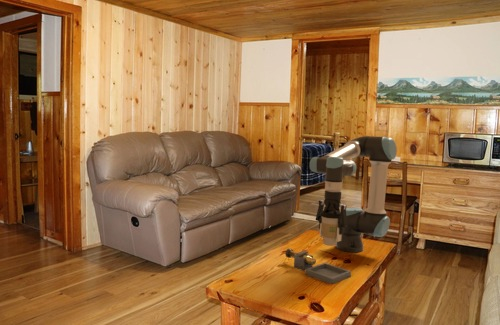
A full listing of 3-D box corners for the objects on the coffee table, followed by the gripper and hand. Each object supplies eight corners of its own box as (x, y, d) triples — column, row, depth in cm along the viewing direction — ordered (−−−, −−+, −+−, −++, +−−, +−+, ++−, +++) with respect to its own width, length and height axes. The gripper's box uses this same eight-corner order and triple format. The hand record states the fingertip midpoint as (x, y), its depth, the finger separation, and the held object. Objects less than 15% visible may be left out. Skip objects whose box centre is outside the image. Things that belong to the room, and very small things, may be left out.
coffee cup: (340, 247, 183) (343, 215, 182) (318, 245, 185) (320, 213, 184) (340, 241, 193) (342, 210, 191) (319, 239, 195) (321, 208, 193)
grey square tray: (324, 267, 201) (324, 262, 201) (350, 276, 191) (351, 271, 190) (305, 274, 191) (305, 269, 191) (332, 284, 180) (332, 279, 180)
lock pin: (290, 256, 208) (291, 247, 208) (316, 265, 197) (317, 256, 196) (285, 258, 205) (285, 249, 205) (310, 267, 194) (311, 258, 193)
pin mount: (302, 264, 205) (303, 250, 204) (312, 267, 200) (313, 253, 200) (293, 267, 200) (294, 252, 199) (303, 270, 195) (304, 256, 195)
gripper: (309, 187, 192) (306, 234, 194) (348, 194, 176) (345, 245, 179) (319, 186, 197) (316, 232, 199) (358, 193, 182) (354, 242, 184)
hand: (330, 238), depth 189 cm, fingers closed on coffee cup, 9 cm apart
